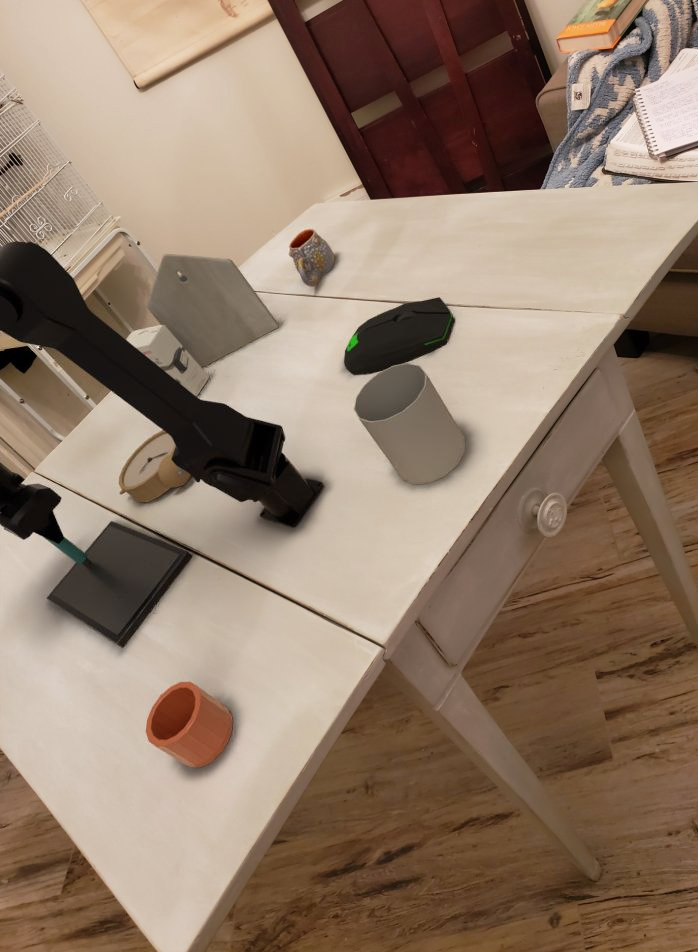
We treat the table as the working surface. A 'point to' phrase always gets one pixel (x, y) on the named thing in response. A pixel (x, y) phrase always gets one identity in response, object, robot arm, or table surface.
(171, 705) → the pen pot
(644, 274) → the table surface
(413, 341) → the computer mouse
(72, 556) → the stylus
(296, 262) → the mug
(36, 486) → the robot arm
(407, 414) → the cup
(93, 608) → the tablet
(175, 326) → the grey house-shaped block
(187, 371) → the ink box
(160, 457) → the alarm clock
